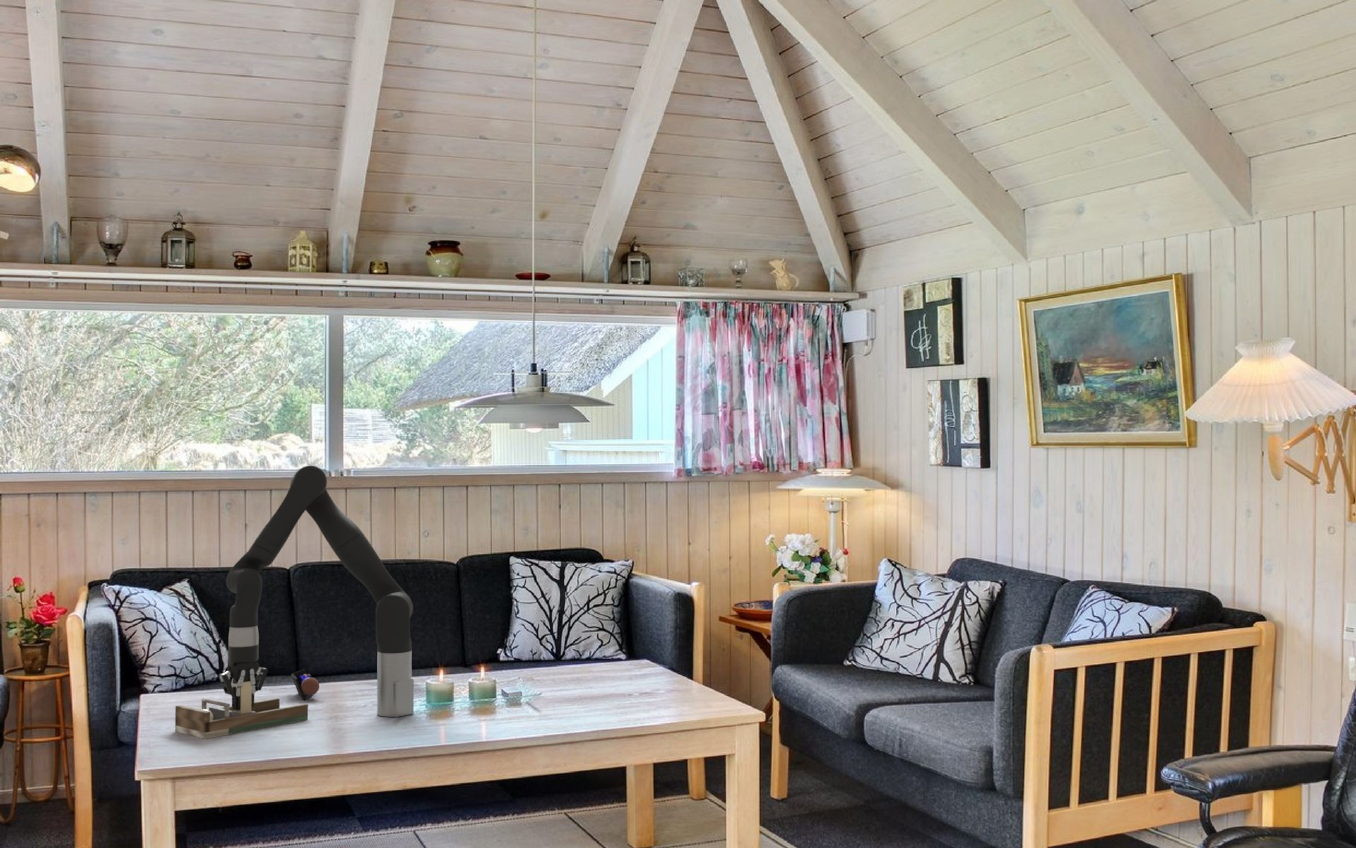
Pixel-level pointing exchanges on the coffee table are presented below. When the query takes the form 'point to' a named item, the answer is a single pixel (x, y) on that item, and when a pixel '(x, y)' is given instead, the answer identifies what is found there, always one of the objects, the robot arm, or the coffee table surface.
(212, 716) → the ball
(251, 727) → the channel
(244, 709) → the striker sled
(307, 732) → the coffee table surface
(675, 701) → the coffee table surface
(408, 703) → the robot arm
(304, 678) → the character figurine
